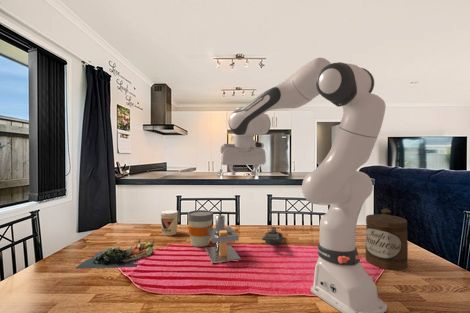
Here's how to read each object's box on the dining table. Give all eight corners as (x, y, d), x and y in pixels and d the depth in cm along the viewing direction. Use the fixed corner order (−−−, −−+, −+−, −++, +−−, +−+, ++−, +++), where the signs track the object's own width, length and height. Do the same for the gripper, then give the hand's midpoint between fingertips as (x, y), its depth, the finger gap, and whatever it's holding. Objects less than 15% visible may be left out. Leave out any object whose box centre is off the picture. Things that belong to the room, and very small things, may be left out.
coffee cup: (157, 235, 139) (157, 212, 139) (166, 230, 148) (166, 209, 148) (172, 236, 136) (172, 214, 136) (181, 231, 145) (181, 210, 145)
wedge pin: (227, 255, 109) (227, 232, 109) (220, 256, 108) (220, 232, 108) (225, 253, 112) (225, 230, 112) (218, 253, 111) (218, 230, 111)
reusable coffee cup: (182, 246, 122) (182, 215, 122) (193, 238, 134) (193, 209, 134) (208, 249, 119) (208, 216, 119) (216, 240, 131) (216, 210, 131)
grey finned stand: (240, 260, 106) (240, 222, 106) (212, 264, 103) (212, 224, 103) (230, 247, 122) (230, 213, 121) (205, 249, 118) (205, 214, 118)
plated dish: (171, 245, 126) (171, 230, 126) (159, 272, 98) (159, 253, 98) (96, 247, 123) (96, 232, 123) (62, 276, 95) (62, 257, 95)
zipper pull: (260, 238, 115) (265, 223, 140) (260, 252, 115) (265, 235, 140) (280, 239, 113) (282, 224, 138) (280, 254, 113) (282, 236, 138)
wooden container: (359, 261, 107) (359, 208, 106) (374, 252, 116) (374, 203, 116) (399, 274, 95) (400, 215, 95) (412, 263, 105) (413, 209, 105)
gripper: (222, 143, 109) (222, 176, 109) (267, 143, 115) (267, 175, 115) (219, 144, 115) (219, 175, 115) (261, 144, 121) (261, 174, 121)
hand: (243, 175), depth 115 cm, fingers open, 8 cm apart
